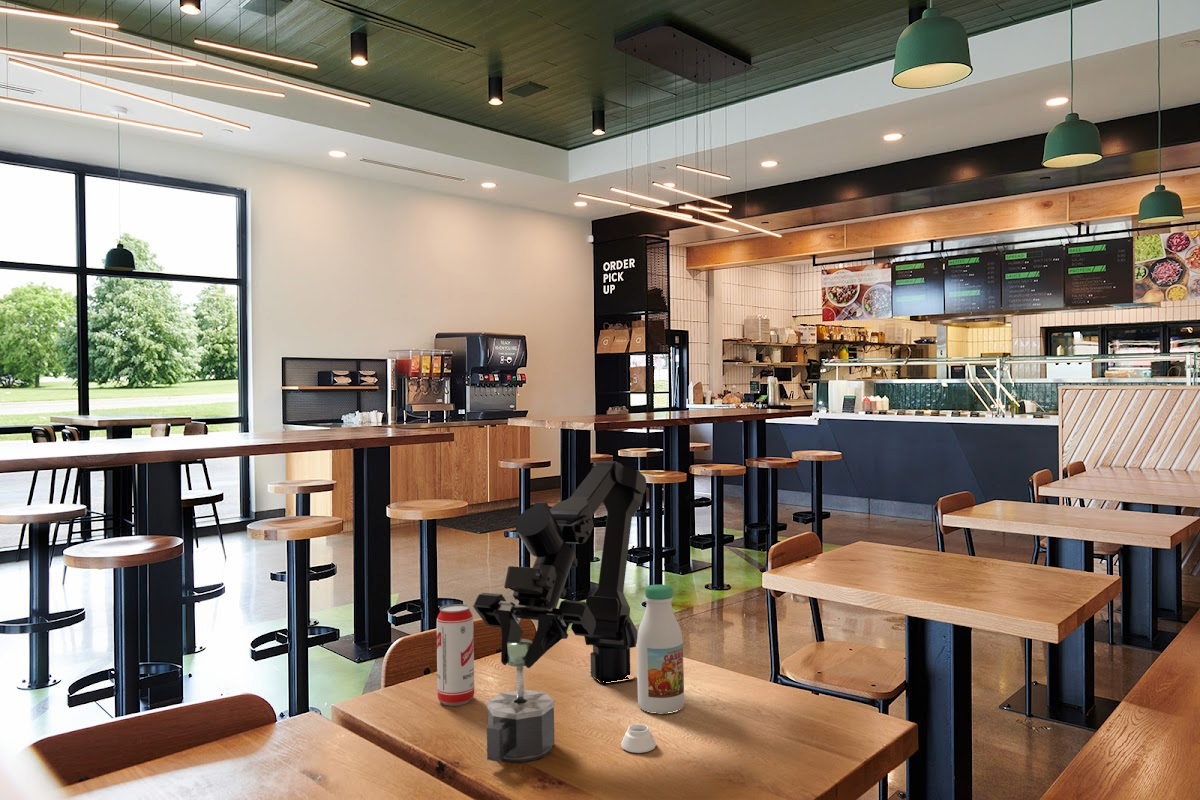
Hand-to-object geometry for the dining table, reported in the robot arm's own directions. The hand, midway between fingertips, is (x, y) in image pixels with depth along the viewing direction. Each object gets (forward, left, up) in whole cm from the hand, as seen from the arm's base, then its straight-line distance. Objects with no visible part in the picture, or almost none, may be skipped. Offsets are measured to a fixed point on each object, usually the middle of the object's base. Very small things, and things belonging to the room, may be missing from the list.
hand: (515, 665), depth 116 cm
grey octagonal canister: (0, 0, -13) cm, 13 cm away
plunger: (-1, -1, -7) cm, 7 cm away
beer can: (+4, -25, -13) cm, 28 cm away
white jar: (-17, +5, -13) cm, 22 cm away
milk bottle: (-27, -8, -13) cm, 31 cm away
